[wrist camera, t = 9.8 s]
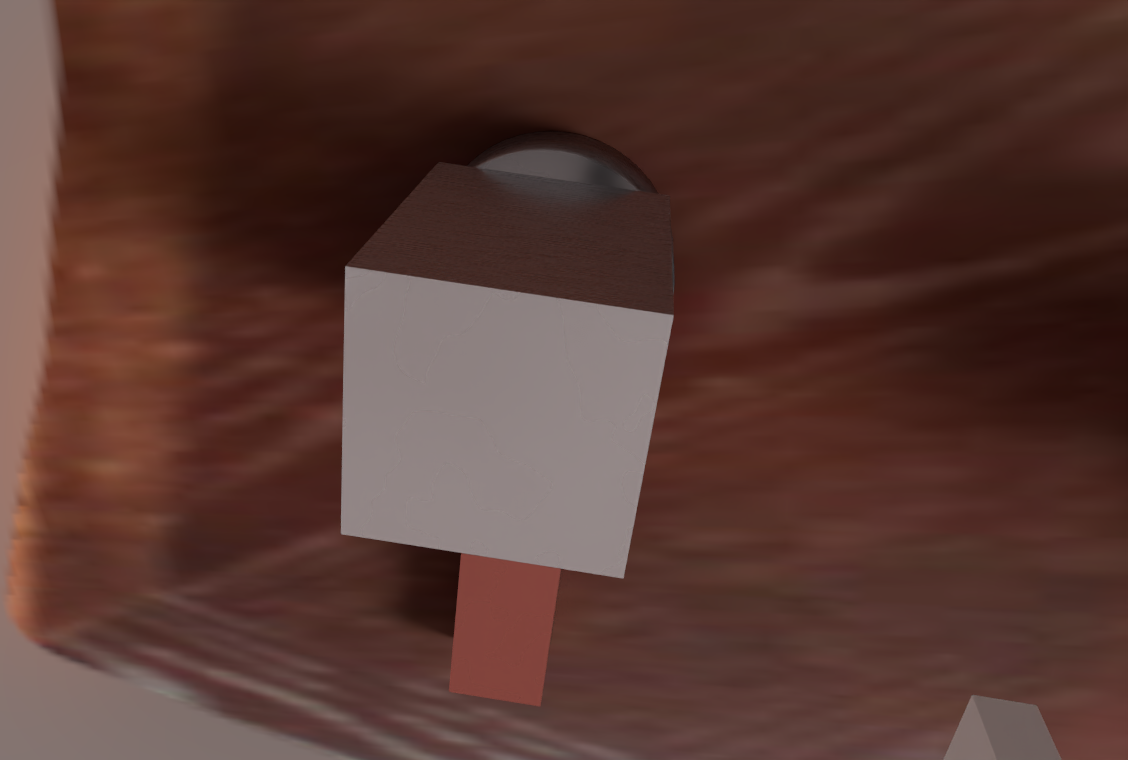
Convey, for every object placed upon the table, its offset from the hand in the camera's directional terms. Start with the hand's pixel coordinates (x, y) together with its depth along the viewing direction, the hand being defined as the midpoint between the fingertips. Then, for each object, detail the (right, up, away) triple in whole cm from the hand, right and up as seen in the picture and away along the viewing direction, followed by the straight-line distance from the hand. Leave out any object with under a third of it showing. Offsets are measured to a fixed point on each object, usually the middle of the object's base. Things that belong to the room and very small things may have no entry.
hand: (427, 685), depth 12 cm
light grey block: (+1, +6, +13) cm, 15 cm away
